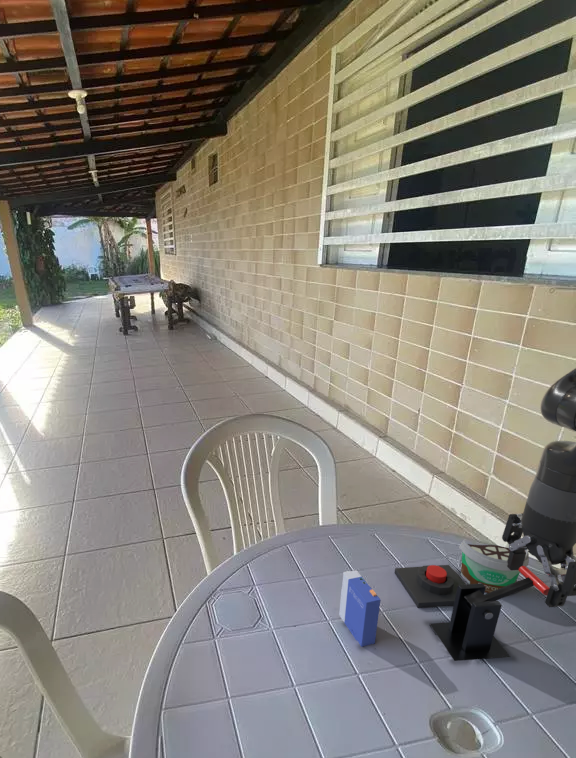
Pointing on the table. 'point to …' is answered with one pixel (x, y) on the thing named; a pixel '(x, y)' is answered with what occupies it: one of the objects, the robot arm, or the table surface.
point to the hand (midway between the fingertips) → (532, 586)
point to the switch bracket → (471, 628)
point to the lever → (509, 588)
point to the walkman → (359, 608)
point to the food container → (488, 566)
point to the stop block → (429, 586)
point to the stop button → (436, 574)
